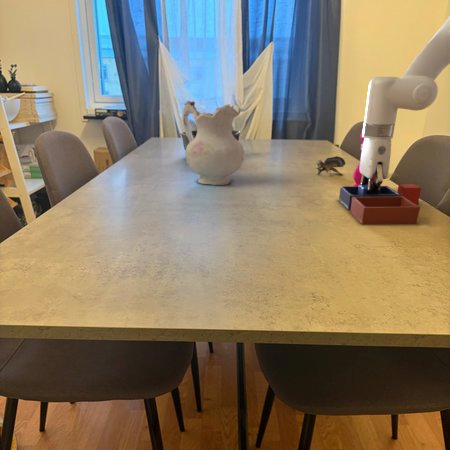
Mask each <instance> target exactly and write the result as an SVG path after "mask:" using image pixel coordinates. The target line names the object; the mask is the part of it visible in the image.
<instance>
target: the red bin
mask: <svg viewBox="0 0 450 450" xmlns="http://www.w3.org/2000/svg"><path fill="white" fill-rule="evenodd" d="M420 209H421V206H419V204H414V203H413V202H411V201H410V200H408V199H407V198H405V197H404V196H391V197H352V203H351V211H349V213H350V214H351V215H352V217H354V218H355V219H356V220H357V221H358V222H359V224H361V225H417V224H418V218H419V214H420Z"/></svg>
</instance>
